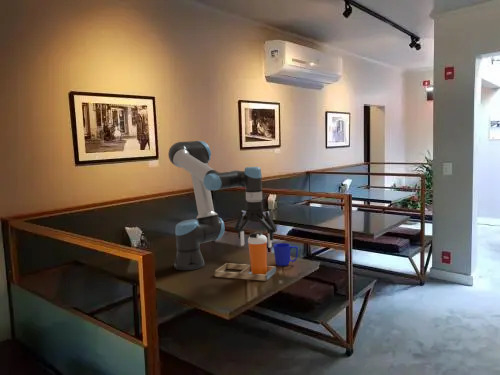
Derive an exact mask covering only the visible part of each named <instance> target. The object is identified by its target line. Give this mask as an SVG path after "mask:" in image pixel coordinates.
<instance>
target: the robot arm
mask: <svg viewBox="0 0 500 375" xmlns="http://www.w3.org/2000/svg"><path fill="white" fill-rule="evenodd" d="M211 156H212V151H211V149H210V146H209V145H208V143H206V141H203V140H193V141H178V142H176V143H174V144H172V145H171V146H170V147H169V149H168V155H167V157H168V159H169V161H170V163H171V164H173V165H174V166H175V167H177V168H182V169H183V170H185V171H187V172H188V173H189V174H190V175H191V176H190V177H191V183H192V185H193V186H192V188H193V192H194V193H193V194H194V197H195V203H196V210H197V214H198V215H197V216H196V218H191V219H186V220H182V221H180V222H178V223H177V224H176V225H175V231H174V232H175V234H174V235H175V241H176V243H175V244H176V255H175V259H174V269H175V268H176V269H175V270H178V271H192V270H197V269H201V268H203V267H204V266H205V261H204V257H203V255H202V252H201V248H200V244H205V243H208V242H214V241H217V240H220V239H221V238H222V237H223V236H224V233H225V222H224V220H223V219H222V218H221V217H219V214H218V213H217V212H215V209H214V204H213V202H214V201H213V199H212V198H213V197H212V192H211V191H218V190H225V189H232V188H245V201H246V202H245V206H246V207H245V209H246V210H241V211H240V212H239V217H238V219H237V222H236V224H235V226H234V231H237V233H238V239H240V246H241V247H243V246H244V245H245V230H244V229H245V227H247V225H248V224H249V222H250V221H251V222H259V223H261V225H262V226H263V227H264V228H265V230H266V231H267V232H268V233H267V247H268V248H269V249H271V248H272V245H273V244H272V243H273V242H272V241H273V240H274V233H276V232H277V231H278V228H277V226H276V225H275V223H274V221H273V218H272V216H271V213H270V211H269V210H268V211H264V210H263V208H264V206H263V182H262V180H263V179H262V178H263V176H262V169H261V167H260V166H248V167H244V170H237V169H236V170H231V171H224V172H219V171H217V170H216V169H214V168H213V167H211V166H209V161H211ZM245 216H247V217H246V218H245V220H244V222H243V219H244V217H245ZM263 216H264V217H265V218H266V220H267V221H266V220H265V218H264V217H263ZM242 222H243V223H242ZM268 248H267V249H268Z"/></svg>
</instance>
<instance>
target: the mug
mask: <svg viewBox="0 0 500 375" xmlns="http://www.w3.org/2000/svg"><path fill="white" fill-rule="evenodd" d="M292 249H296V250H295V252H296V253H295V258H294V259H291V250H292ZM273 252H274V253H273V254H274V260H275V264H276V266H279V267H286V266H288V265H289V264H290V262H292V263H293V262H296V260H298V254H299V247H298V246H291V245H290V244H289V243H286V242H285V243H284V242H279V243H275V244H274V245H273Z"/></svg>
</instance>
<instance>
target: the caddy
mask: <svg viewBox="0 0 500 375" xmlns="http://www.w3.org/2000/svg"><path fill="white" fill-rule="evenodd" d="M228 269H229V270H241V271H240V272H235V271H234V272H233V271H226V270H228ZM276 272H277V265H275V266H273V265H267V274H266V275H262V274H252V273H251V264H245V263H243V264H242V263H240V264H239V263H227V262H225V263H224V264H223V265H220V266H219V267H218V268H217V269H215V270H214V271H213V277H217V278H226V279H227V278H228V279H230V278H231V279H241V280H251V281H265V282H267V281H269V279H270V278H271V277H272V276H274V274H276Z"/></svg>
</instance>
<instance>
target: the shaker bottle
mask: <svg viewBox="0 0 500 375" xmlns="http://www.w3.org/2000/svg"><path fill="white" fill-rule="evenodd" d="M263 233H264V231H263V230H259V231H255V232H253V233H250V234H249V237H248V238H247V244H248V251H249V252H248V253H249V262H250V265H251V273H252V274H262V275H266V274H267V266H268V259H267V258H268V257H267V255H268V254H267V253H268V248H267V247H268V236H266V235H264V234H263Z"/></svg>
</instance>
